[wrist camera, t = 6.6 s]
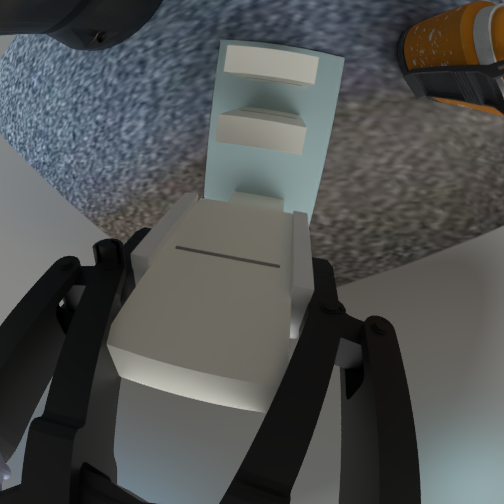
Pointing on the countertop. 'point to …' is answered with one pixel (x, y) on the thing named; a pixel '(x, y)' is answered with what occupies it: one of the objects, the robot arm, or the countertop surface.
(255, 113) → the domino
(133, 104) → the countertop surface
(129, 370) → the domino
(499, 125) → the countertop surface
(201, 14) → the countertop surface
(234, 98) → the mat
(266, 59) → the domino
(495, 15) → the canister
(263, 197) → the domino
